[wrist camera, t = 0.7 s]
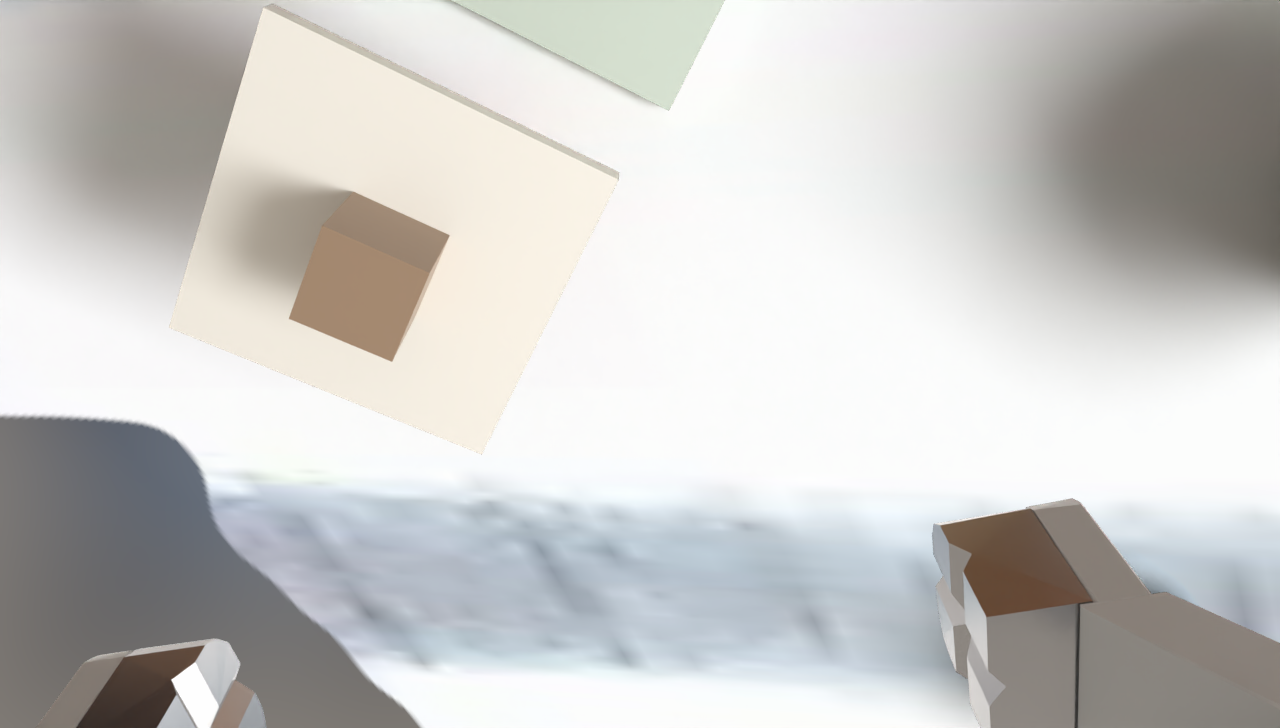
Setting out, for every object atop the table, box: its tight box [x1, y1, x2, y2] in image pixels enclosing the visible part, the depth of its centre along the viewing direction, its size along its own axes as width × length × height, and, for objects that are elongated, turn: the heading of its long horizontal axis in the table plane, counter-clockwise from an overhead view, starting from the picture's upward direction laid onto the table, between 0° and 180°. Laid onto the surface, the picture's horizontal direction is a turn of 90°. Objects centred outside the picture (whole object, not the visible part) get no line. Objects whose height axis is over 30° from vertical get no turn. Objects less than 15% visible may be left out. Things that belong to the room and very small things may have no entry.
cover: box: [169, 4, 619, 454], centre depth 36 cm, size 14×14×5 cm
